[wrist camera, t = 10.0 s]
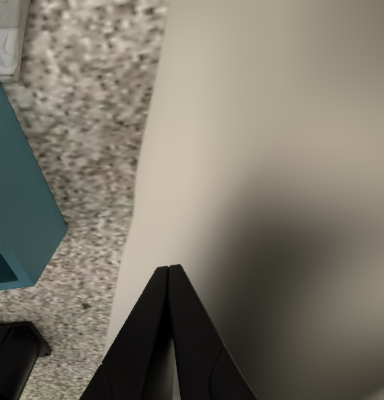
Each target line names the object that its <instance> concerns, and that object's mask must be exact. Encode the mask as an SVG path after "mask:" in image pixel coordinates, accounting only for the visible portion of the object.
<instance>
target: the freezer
mask: <svg viewBox="0 0 384 400" xmlns="http://www.w3.org/2000/svg"><path fill="white" fill-rule="evenodd" d="M67 231H68V228H67V226H66V224H65V222H64V220H63V218H62V215H61V213H60V211H59V209H58V207H57V205H56V203H55V200H54V198H53V196H52V194H51V192H50V190H49V187H48V185H47V183H46V181H45V179H44V177H43V175H42V172H41V170H40V168H39V166H38V164H37V162H36V159H35V157H34V155H33V153H32V151H31V149H30V147H29V144H28V142H27V140H26V138H25V136H24V134H23V131H22V129H21V127H20V125H19V123H18V121H17V118H16V116H15V114H14V112H13V110H12V108H11V106H10V103H9V101H8V99H7V97H6V95H5V93H4V90H3V88H2V86H1V84H0V290H7V289H15V288H23V287H33V286H35V284H36V282H37V281H38V279H39V277H40V276H41V274H42V272H43V271H44V269H45V267H46V266H47V264H48V262H49V261H50V259H51V257H52V256H53V254H54V252H55V251H56V249H57V247H58V246H59V244H60V242H61V241H62V239H63V237H64V236H65V234H66V232H67Z"/></svg>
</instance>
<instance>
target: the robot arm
mask: <svg viewBox="0 0 384 400" xmlns="http://www.w3.org/2000/svg"><path fill="white" fill-rule="evenodd" d="M51 353H52V350H51V348H50V347H49V346H48V344H47V343H46V342H45V340H44V339H43V337H42V336H41V335H40V333H39V332H38V331H37V329H36V328H35V327H34V325H33V324H32V323H30V322H23V323H15V324H7V325H0V400H19V399H20V396H21V394H22V392H23V390H24V388H25V385H26V383H27V381H28V379H29V376H30V374H31V372H32V370H33V367H34V365H35V363H36V361H37V358H38V357H45V356H50V355H51ZM175 358H176V366H177V373H178V381H179V388H180V396H181V400H259V399H258V398H257V397H256V395H255V394H254V392H253V390H252V389H251V387H250V386H249V384H248V383H247V381H246V380H245V378H244V377H243V375H242V373H241V372H240V370H239V368H238V367H237V365H236V363H235V362H234V360H233V358H232V356H231V355H230V353H229V351H228V349H227V348H226V347H225V344H224V342H223V340H222V339H221V337H220V335H219V333H218V331H217V329H216V328H215V326H214V324H213V322H212V320H211V318H210V317H209V315H208V313H207V311H206V309H205V308H204V306H203V304H202V302H201V300H200V299H199V297H198V295H197V293H196V291H195V289H194V288H193V286H192V284H191V282H190V280H189V278H188V277H187V275H186V273H185V271H184V269H183V267H182V266H181V265H180V264H177V265H171V266H169V267H168V266H163V267H158V268H156V270H155V271H154V273H153V275H152V277H151V278H150V280H149V282H148V283H147V285H146V287H145V289H144V290H143V292H142V294H141V296H140V297H139V299H138V301H137V302H136V304H135V306H134V308H133V309H132V311H131V313H130V315H129V316H128V318H127V320H126V321H125V323H124V325H123V326H122V328H121V330H120V332H119V333H118V335H117V337H116V338H115V340H114V342H113V344H112V345H111V347H110V349H109V350H108V352H107V354H106V356H105V357H104V359H103V361H102V364H101V365H100V366H99V367H98V369H97V371H96V373H95V374H94V376H93V378H92V379H91V381H90V383H89V384H88V386H87V388H86V389H85V391H84V392H83V394H82V396H81V397H80V399H79V400H172V397H173V379H174V360H175Z"/></svg>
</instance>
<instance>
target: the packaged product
mask: <svg viewBox="0 0 384 400" xmlns="http://www.w3.org/2000/svg"><path fill="white" fill-rule="evenodd" d="M30 1H31V0H0V81H1V82H5V83H9V82H14V81H19V74H20V66H21V58H22V50H23V41H24V33H25V28H26V22H27V17H28V12H29V7H30Z"/></svg>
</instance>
